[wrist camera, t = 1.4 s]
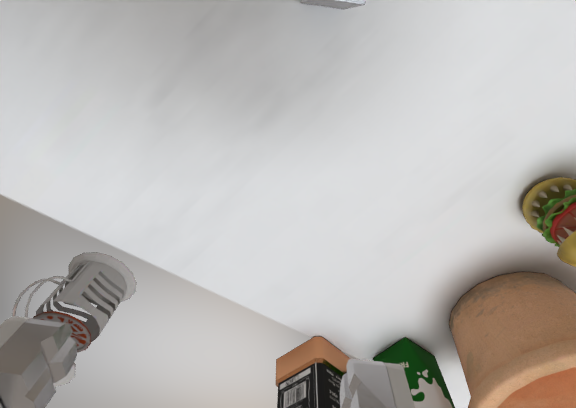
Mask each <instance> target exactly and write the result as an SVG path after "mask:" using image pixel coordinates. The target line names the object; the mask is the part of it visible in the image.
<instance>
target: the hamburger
mask: <svg viewBox="0 0 576 408" xmlns="http://www.w3.org/2000/svg"><path fill="white" fill-rule="evenodd" d="M522 209H523V215H524V217H525V219H526V221H527V222H528V223H529V224H530V226H531V227H532V228H533V229H535V230H537V231H538V232H540V233H543V234H542V236H544V237H545V238H546V240H547V241H548V242H550V243H556V244H555V246H558V247H559V249H558V252H557V255H558V257H559V258H560V259H561V260H562V261H563V262H565V263H567V264H569V265H571V266H574V267H576V180H574V179H571V178H563V177H558V178H552V179H548V180H545V181H543V182H540V183H538V184H537V185H535V186H534V187H533V188H532V189H531V190H530V191H529V192H528V193H527V194H526V196H525V198H524V201H523V206H522Z"/></svg>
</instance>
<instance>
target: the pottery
mask: <svg viewBox="0 0 576 408" xmlns="http://www.w3.org/2000/svg"><path fill="white" fill-rule="evenodd" d="M449 326H450V329H451V332H452V335H453V338H454V341H455V345H456V348H457V351H458V355H459V358H460V361H461V365H462V368H463V372H464V375H465V378H466V382H467V385H468V388H469V392H470V395H471V399H470V402H469V406H468V408H576V293H575V292H573V291H572V290H571V289H569V288H568V287H567V286H565V285H564V284H563V283H562V282H561V281H559V280H557V279H555V278H553V277H550V276H548V275H546V274H543V273H531V272H518V273H512V274H506V275H500V276H497V277H494V278H492V279H490V280H487V281H485V282H483V283H480V284H478V285H477V286H475V287H474V288H473V289H471V290H470V291H469V292H467V293H466V294H465V295H463V296H462V297H461V299H460V300H459V301H458V303H457V304H456V306H455V307H454V308H453V310H452V312H451V317H450V322H449Z"/></svg>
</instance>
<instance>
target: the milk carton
mask: <svg viewBox="0 0 576 408" xmlns="http://www.w3.org/2000/svg"><path fill="white" fill-rule="evenodd" d="M373 360H374V361H379V362H383V363H392V364H400V365H401V366H402V367H403V368H404V371H405V375H406V378H407V382H408V385H409V389H410V392H411V395H412V399H413V402H414V406H415V408H455V407H454V404H453V402H452V399H451V396H450V394H449V391H448V389H447V386H446V384H445V381H444V379H443V376H442V374H441V371H440V369H439V366H438V364H437V361H436V359H435V356H433V355H432V354H430V353H429V352H427V351H426V350H424V349H422V348H421V347H419V346H418V345H416V344H415V343H413V342H412V341H410V340H409V339H407V338H406V337H405V338H403V339H402V340H400V341H399V342H397V343H396V344H394V345H393V346H391V347H390V348H388V349H387V350H385V351H384V352H382V353H381V354H379V355H378V356H376V357H374V358H373Z"/></svg>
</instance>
